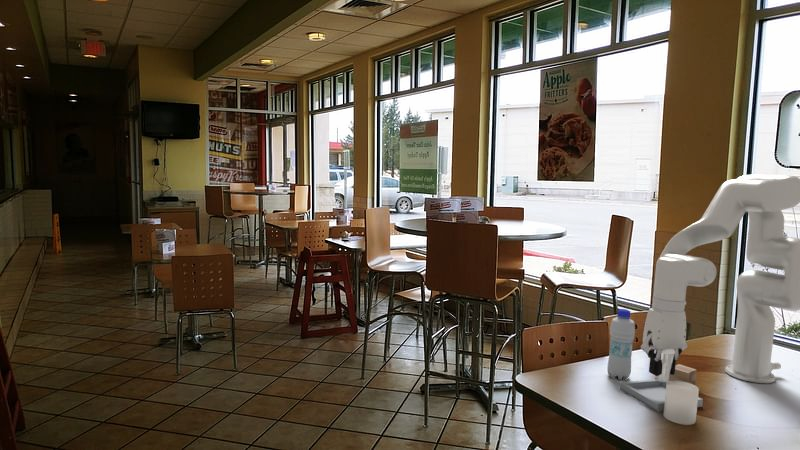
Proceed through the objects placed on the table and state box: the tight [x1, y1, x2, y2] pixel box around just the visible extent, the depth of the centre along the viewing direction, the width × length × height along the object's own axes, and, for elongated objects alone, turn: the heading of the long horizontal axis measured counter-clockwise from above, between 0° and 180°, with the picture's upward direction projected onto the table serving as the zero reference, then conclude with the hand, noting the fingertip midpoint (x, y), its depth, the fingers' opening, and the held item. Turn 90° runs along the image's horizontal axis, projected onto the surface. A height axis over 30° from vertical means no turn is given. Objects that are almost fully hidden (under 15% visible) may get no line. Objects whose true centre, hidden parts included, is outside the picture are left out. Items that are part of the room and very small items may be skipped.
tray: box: [619, 378, 704, 413], centre depth 147 cm, size 14×14×2 cm
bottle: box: [606, 308, 636, 381], centre depth 160 cm, size 7×7×20 cm
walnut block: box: [668, 363, 698, 386], centre depth 156 cm, size 5×5×5 cm
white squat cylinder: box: [663, 380, 700, 426], centre depth 135 cm, size 7×7×8 cm
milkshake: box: [654, 349, 675, 382], centre depth 146 cm, size 4×5×10 cm
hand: (661, 372), depth 146 cm, fingers closed on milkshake, 4 cm apart
